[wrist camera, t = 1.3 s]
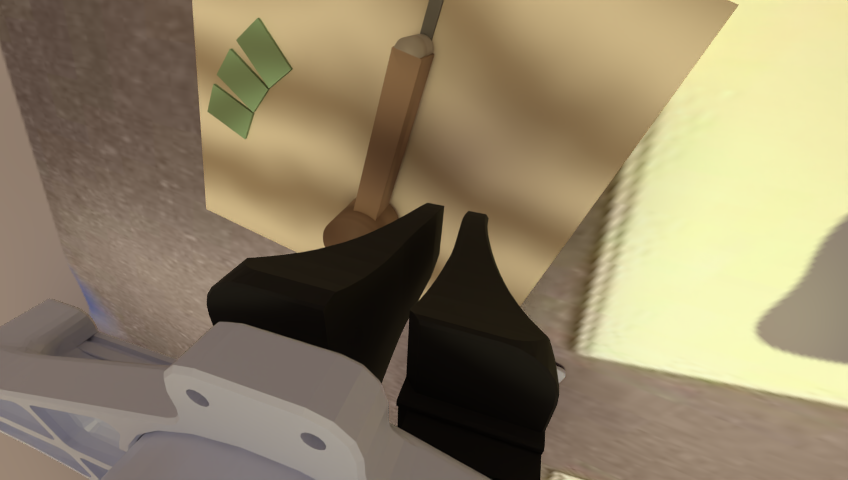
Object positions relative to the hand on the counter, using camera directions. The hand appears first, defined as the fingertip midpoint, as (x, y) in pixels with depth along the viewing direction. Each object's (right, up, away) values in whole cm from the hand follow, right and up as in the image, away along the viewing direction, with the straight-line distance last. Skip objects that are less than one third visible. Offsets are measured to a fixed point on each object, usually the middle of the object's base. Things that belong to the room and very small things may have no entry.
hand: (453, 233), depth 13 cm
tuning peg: (-3, +4, +8) cm, 10 cm away
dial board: (-3, +6, +9) cm, 11 cm away
